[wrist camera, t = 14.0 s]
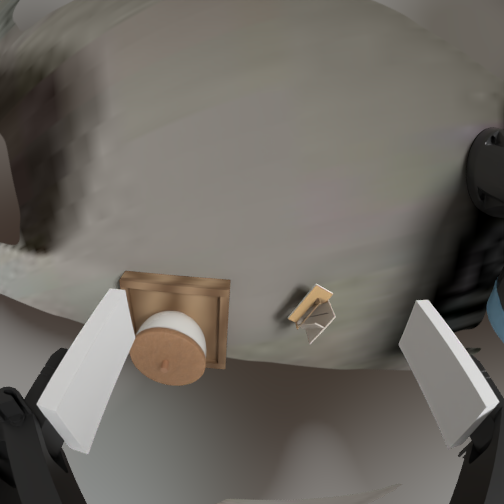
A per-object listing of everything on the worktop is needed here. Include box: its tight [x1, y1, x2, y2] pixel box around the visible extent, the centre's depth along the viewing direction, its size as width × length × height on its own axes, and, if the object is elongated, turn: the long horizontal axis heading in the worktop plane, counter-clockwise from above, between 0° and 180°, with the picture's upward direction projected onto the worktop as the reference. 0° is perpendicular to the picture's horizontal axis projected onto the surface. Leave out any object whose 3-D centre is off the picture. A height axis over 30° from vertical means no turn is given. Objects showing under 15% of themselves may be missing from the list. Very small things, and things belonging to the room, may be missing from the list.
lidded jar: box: [130, 311, 206, 386], centre depth 40 cm, size 11×11×9 cm
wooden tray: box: [119, 271, 230, 369], centre depth 44 cm, size 16×16×3 cm
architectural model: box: [288, 284, 336, 344], centre depth 41 cm, size 3×7×7 cm, turn 148°
